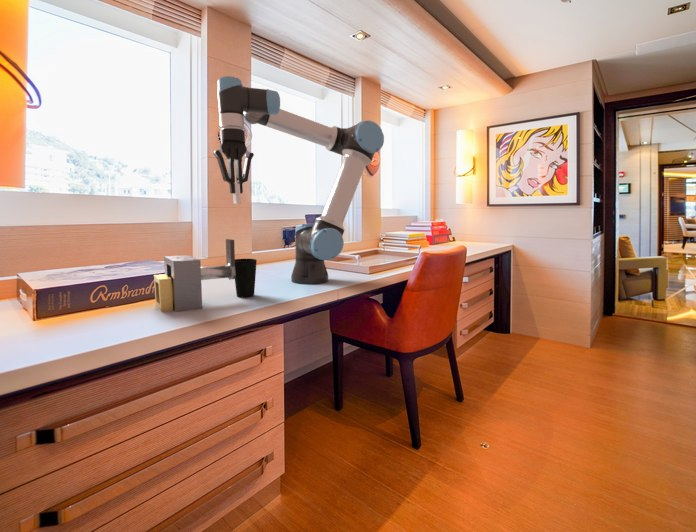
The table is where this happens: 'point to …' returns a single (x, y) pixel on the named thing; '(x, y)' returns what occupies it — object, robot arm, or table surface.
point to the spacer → (163, 292)
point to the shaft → (222, 270)
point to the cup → (245, 277)
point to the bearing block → (184, 281)
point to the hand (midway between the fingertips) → (237, 203)
